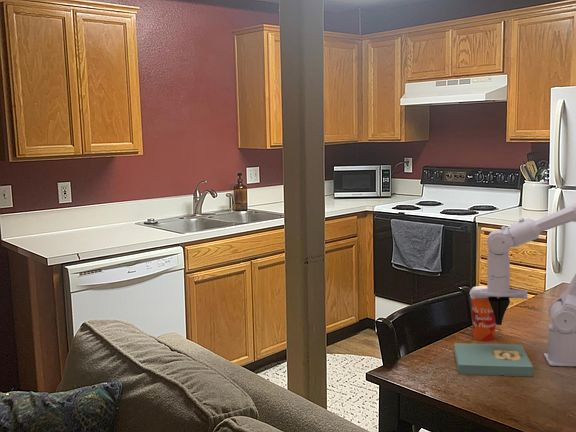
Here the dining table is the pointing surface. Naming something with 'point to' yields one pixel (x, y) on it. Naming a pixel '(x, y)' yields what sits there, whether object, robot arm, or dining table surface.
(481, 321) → the coffee cup
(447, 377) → the dining table surface
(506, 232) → the robot arm
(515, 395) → the dining table surface
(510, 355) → the maple ball
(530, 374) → the hole board
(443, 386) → the dining table surface
